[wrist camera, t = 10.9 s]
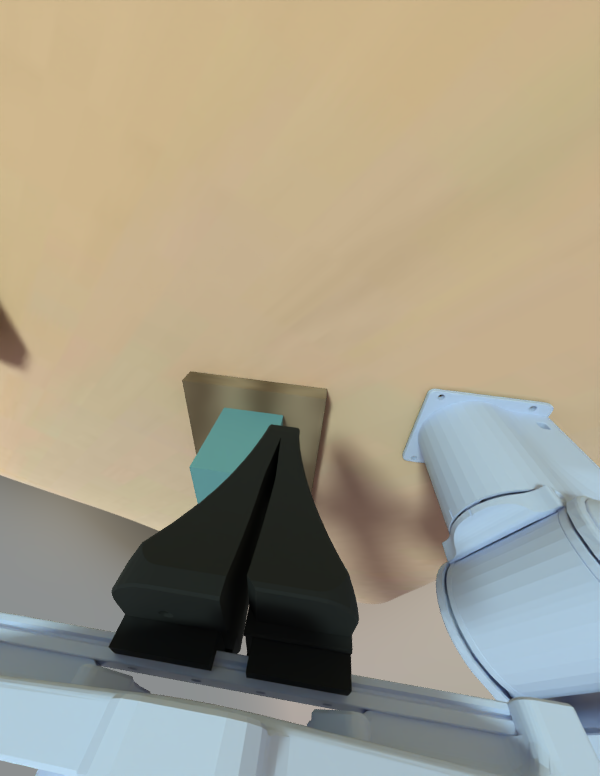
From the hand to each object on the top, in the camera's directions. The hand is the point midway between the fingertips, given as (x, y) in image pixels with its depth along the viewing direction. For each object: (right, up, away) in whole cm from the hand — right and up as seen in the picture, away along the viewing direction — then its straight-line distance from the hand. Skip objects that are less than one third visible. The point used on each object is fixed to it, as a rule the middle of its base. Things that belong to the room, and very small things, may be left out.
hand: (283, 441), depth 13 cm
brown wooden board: (-4, -6, +17) cm, 19 cm away
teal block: (-3, -2, +12) cm, 13 cm away
